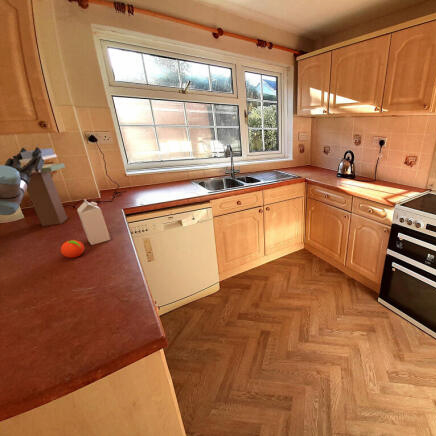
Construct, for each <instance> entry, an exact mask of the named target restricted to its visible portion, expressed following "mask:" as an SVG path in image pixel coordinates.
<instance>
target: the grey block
mask: <svg viewBox="0 0 436 436" xmlns="http://www.w3.org/2000/svg"><path fill="white" fill-rule="evenodd" d="M39 149H40V150H41V152H42V153H41V155H42V156H41V157H42V158H43V160H44V161H45V160H49V159H52V158H57V157H58V156H57V154H56V153H55V152H54V150H53V148H52V147H49V148H39ZM34 151H35V149H33V150H26V152H20V151H19V153H20V154H21V156H22V158H23V159H22V160H19V161H20V163H21V164H27V163H28V162H29V161H30V160H31V159H32V158H33V157H32V155H33V153H34Z"/></svg>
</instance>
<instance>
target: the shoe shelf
mask: <svg viewBox="0 0 436 436" xmlns="http://www.w3.org/2000/svg"><path fill="white" fill-rule="evenodd" d="M65 165H66V164H65V163H64V162H61V163H44V164H43V167H42V169H41V174H38V173H36V174H33V176H31V178H30V183H29V185H28V187H27V189H26V192H27V194H28V198H29V199H30V201H31V204H32V206H33V208H34V211H35V213H36V216H37V217H38V220H39V222H40V224H41V226H42V227H45V226H46V227H47V226H53V225H55V226H56V225H61V224H62V223H64V222H66V221H67V220H68V216H67V212H66V210H65V208H64V206H63V203H62V201H61V198H60V195H59V193H58V189H57V188H56V185H55V182H54V180H53V177H52V175H51V172H55V171H58V170H60V169H64V168H66V166H65ZM23 166H24V165H21V167H23Z"/></svg>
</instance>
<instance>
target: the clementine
mask: <svg viewBox="0 0 436 436" xmlns="http://www.w3.org/2000/svg"><path fill="white" fill-rule="evenodd" d="M84 251H85V246H84V243H83V242H82V241H79V240H77V239H70V240H67V241H65V242H64V243H63V244H62V245H61V246H60V253H61V254H62V255H63V256H64V257H65V258H71V259H73V258H77V257H80V256H81V255H82V254H83V253H84Z"/></svg>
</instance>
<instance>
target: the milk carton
mask: <svg viewBox="0 0 436 436" xmlns="http://www.w3.org/2000/svg"><path fill="white" fill-rule="evenodd" d="M83 200H84V201H83V202H82V204H80V206H79V207H77V209H76V211H77V214H78V216H79V217H78V218H79V219H80V221H81V225H82V228H83V230H84V233H85V237H86V238H87V241H88V243H89V244H90V245H91V246H94V245H97V244H100V243H105V242H107V241H111V236H110V233H109V231H108V228H107V224H106V221H105V218H104V215H103V212H102V209H101V207H99V206H98V203H97V202H95V201H91V202H89V201H87V200H86V199H85V198H84V199H83Z"/></svg>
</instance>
